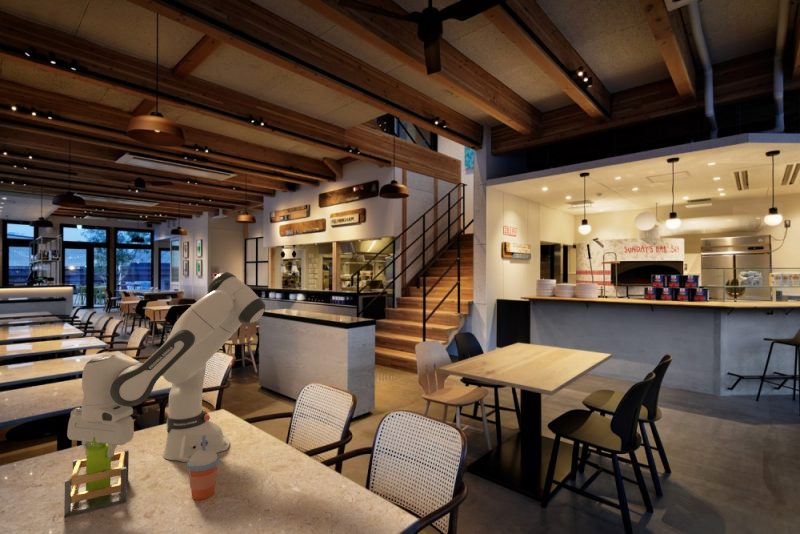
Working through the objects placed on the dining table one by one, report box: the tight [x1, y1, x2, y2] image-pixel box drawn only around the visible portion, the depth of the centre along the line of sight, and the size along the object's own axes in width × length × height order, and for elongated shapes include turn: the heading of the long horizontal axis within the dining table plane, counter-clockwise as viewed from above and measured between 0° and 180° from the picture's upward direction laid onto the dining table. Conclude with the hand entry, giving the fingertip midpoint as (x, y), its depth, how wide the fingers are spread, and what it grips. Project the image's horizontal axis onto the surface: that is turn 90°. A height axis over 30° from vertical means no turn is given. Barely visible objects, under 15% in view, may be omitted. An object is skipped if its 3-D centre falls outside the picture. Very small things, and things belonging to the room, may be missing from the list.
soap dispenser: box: [85, 437, 112, 491], centre depth 119 cm, size 6×7×20 cm
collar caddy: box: [63, 449, 130, 518], centre depth 119 cm, size 14×14×10 cm
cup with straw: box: [186, 435, 221, 501], centre depth 122 cm, size 9×9×18 cm
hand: (99, 455), depth 119 cm, fingers closed on soap dispenser, 6 cm apart
